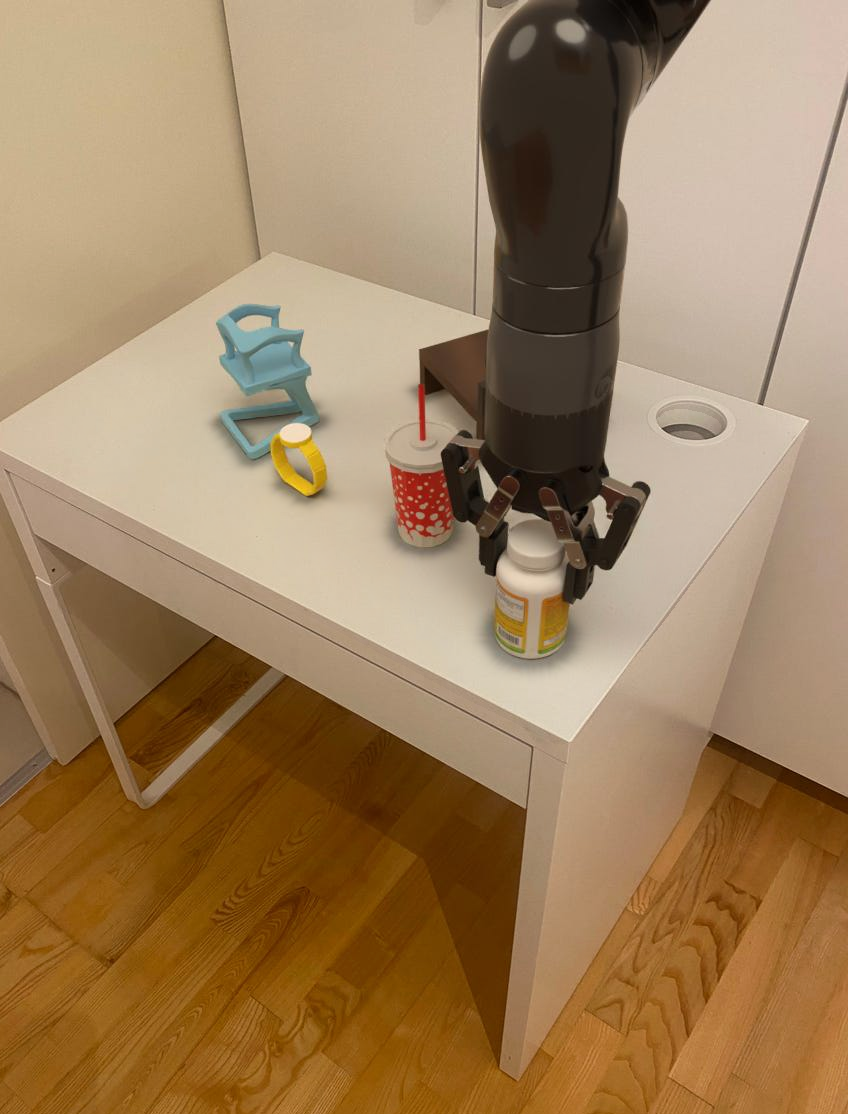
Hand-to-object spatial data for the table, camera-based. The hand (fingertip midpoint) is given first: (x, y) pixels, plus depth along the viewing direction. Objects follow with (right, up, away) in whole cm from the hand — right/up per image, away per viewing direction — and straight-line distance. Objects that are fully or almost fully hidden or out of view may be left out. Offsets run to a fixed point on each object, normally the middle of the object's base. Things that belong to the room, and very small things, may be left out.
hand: (533, 581), depth 71 cm
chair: (-21, +16, +25) cm, 36 cm away
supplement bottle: (0, -4, +4) cm, 6 cm away
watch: (-18, +9, +18) cm, 27 cm away
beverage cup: (-7, +5, +13) cm, 16 cm away
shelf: (+1, +18, +25) cm, 31 cm away
